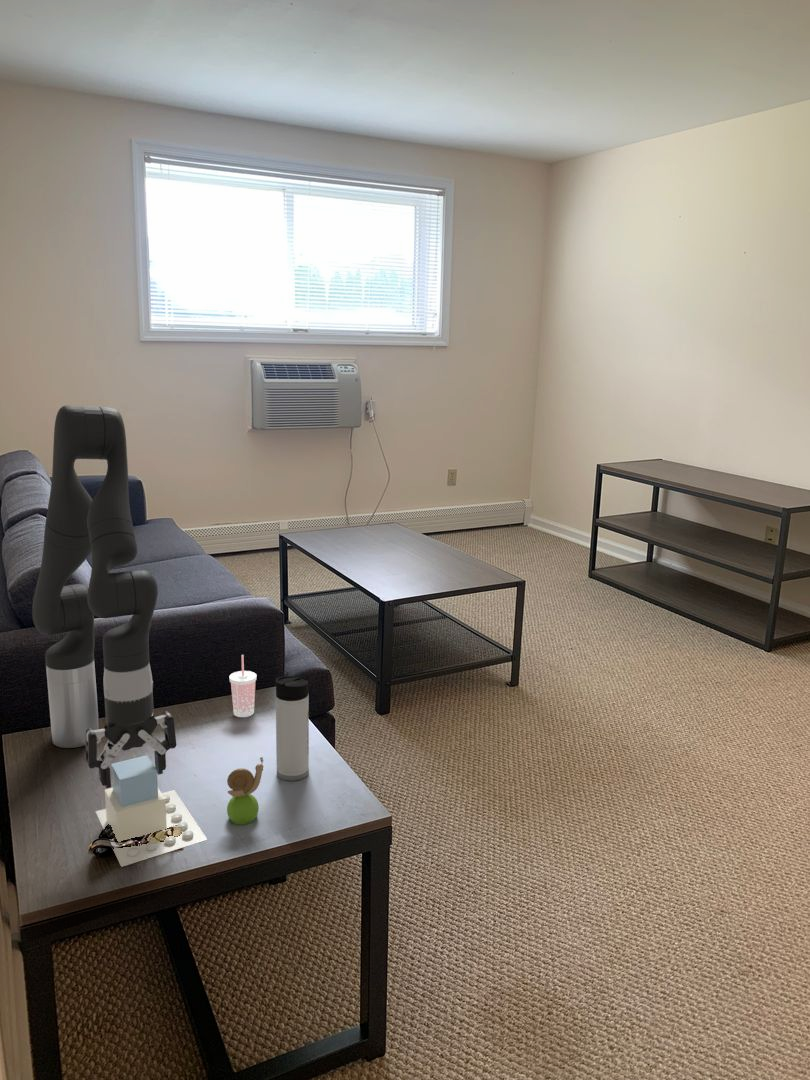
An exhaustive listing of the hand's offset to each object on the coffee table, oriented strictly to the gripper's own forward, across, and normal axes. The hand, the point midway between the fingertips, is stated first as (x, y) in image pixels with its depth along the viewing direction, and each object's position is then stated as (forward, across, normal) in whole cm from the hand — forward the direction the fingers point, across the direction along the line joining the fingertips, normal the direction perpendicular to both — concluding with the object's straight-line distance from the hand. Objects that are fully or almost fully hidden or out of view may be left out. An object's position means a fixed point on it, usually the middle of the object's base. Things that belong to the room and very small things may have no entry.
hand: (133, 779), depth 135 cm
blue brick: (+3, 0, 0) cm, 3 cm away
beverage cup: (+10, -33, -34) cm, 48 cm away
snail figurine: (+10, -17, +7) cm, 21 cm away
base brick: (+9, 0, 0) cm, 9 cm away
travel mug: (+10, -31, -4) cm, 33 cm away
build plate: (+10, -2, +1) cm, 10 cm away
